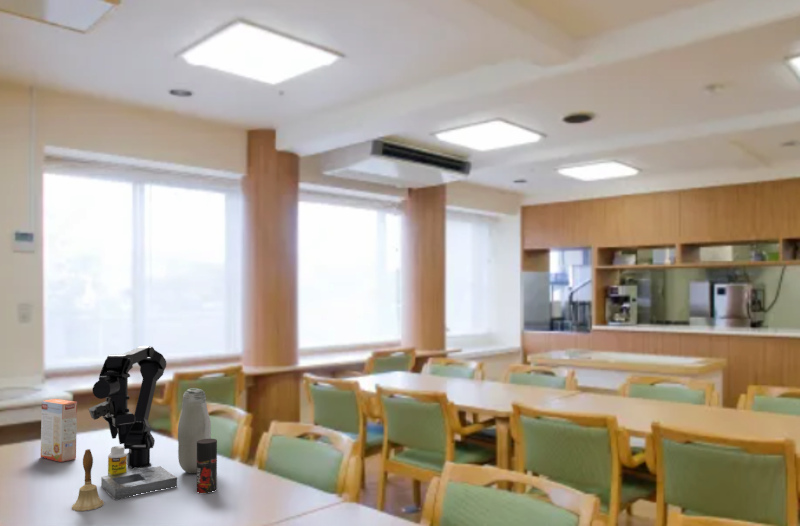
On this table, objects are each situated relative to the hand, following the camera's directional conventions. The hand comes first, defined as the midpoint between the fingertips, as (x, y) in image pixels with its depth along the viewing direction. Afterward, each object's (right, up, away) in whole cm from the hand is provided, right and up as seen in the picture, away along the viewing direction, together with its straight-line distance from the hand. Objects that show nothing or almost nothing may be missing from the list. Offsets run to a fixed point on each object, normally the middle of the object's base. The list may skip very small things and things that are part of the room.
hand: (117, 441), depth 201 cm
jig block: (+11, -12, -9) cm, 18 cm away
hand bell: (+3, -11, -25) cm, 28 cm away
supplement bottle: (0, -12, -1) cm, 12 cm away
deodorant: (+33, -12, -12) cm, 37 cm away
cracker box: (-33, -14, +24) cm, 43 cm away
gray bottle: (+23, -13, +6) cm, 27 cm away
